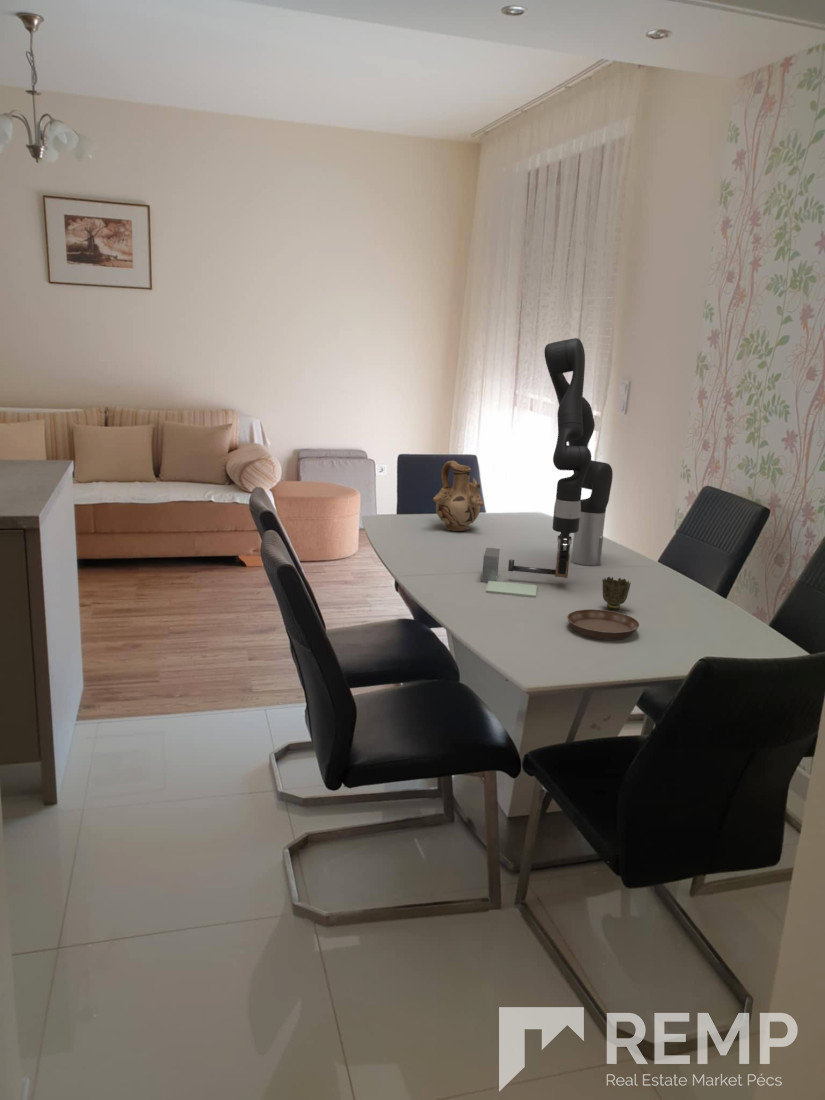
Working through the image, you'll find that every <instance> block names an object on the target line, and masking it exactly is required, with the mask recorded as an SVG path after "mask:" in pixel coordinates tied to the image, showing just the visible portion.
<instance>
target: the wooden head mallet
mask: <svg viewBox="0 0 825 1100" xmlns="http://www.w3.org/2000/svg"><path fill="white" fill-rule="evenodd" d="M570 556H571V552H570V553H569V554H568V562H567V564H566V574H558V566H559V560H558V559H559V553H558V550H557V552H556V563H555V569H554V568H553V569H552V568H541V567H531V566H521V565H515V559H512V558H511V559H508V567H507V568H508V569H507V571H508V572H519V573H520V572H522V573H530V574H542V575H550V576H551V575H553V576H554V577H555V578H564V579H565V578H568V576H569V566H570V565H569V564H570V558H571V557H570ZM561 557H566V555H561Z"/></svg>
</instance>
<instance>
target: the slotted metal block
mask: <svg viewBox="0 0 825 1100" xmlns="http://www.w3.org/2000/svg"><path fill="white" fill-rule="evenodd" d="M500 550H501V549H500V548H495V547H494V548H493V547H486V549H485V552H484V553H483V560H482V561H483V562H482V571H481V572H482V573H481V582H482V583H487V584H488V581H496V582H497V577H498V574H499V565H500V564H499V562H500V561H499V560H500ZM496 576H497V577H496Z"/></svg>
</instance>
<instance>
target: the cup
mask: <svg viewBox="0 0 825 1100" xmlns="http://www.w3.org/2000/svg"><path fill="white" fill-rule="evenodd" d="M601 582H602V584H601V585H602V588H601V589H602V597H603V600H604V602H605V603H606V608H607V609H608V610H610V611H617V610H620V609H621V605H622V604H624V603H625V602H626V600H627V599H628V596H629V592H630V588H631V582H630V581H629V580H627V579H625V578H621V577H619V578H617V579H615V578H614V577H613V576H612V577H611V576H608V577H604V578H602V581H601Z"/></svg>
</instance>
